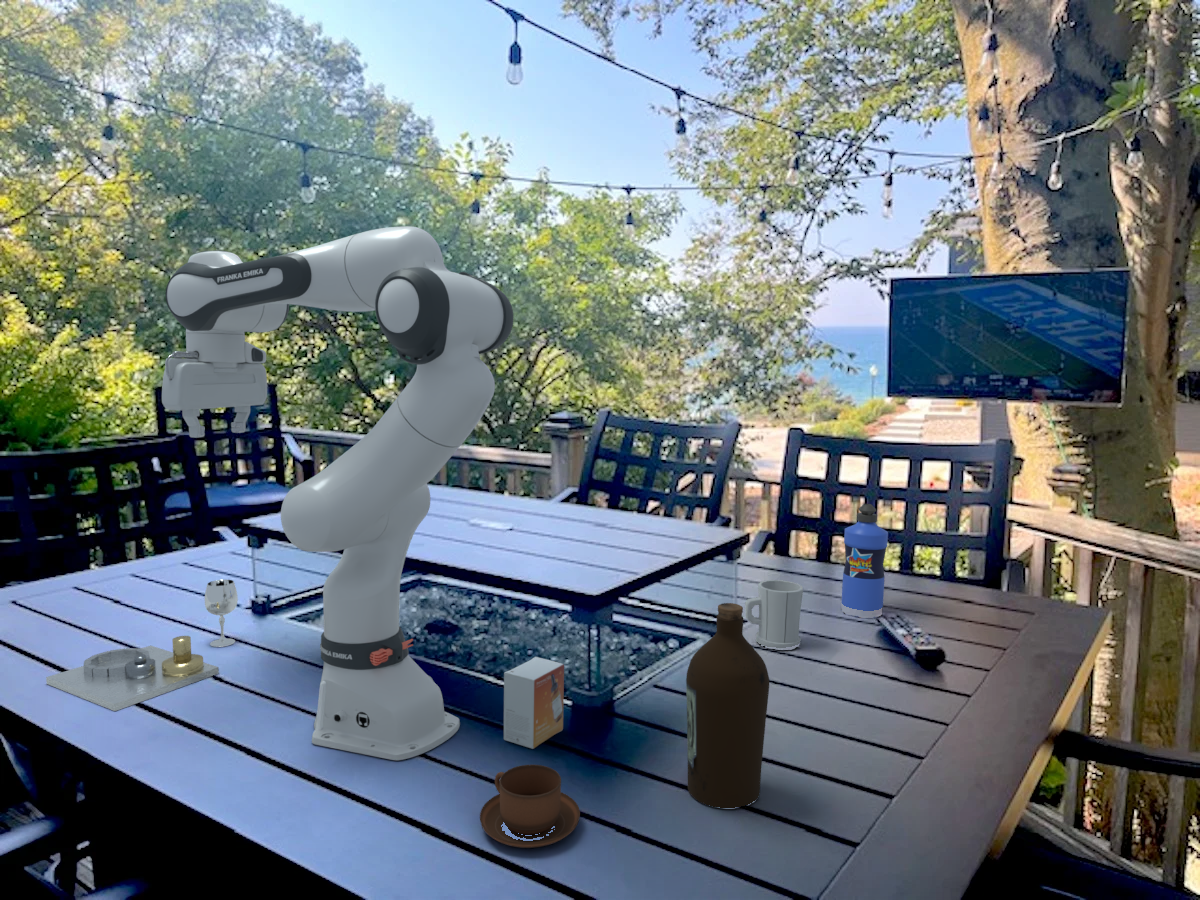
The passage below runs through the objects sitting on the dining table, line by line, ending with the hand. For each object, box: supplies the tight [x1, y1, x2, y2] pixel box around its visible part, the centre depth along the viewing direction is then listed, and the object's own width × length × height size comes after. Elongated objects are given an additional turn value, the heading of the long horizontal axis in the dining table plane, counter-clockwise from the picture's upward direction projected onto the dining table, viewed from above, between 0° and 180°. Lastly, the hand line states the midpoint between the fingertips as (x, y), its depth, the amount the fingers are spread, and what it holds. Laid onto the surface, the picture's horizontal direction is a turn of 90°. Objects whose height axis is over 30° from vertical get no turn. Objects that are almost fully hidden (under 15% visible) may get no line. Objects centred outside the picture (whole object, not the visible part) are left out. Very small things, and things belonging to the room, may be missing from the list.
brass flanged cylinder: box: [162, 635, 204, 677], centre depth 139 cm, size 6×6×6 cm
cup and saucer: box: [479, 764, 581, 849], centre depth 97 cm, size 12×12×6 cm
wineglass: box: [204, 579, 239, 648], centre depth 155 cm, size 6×6×12 cm
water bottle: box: [840, 503, 889, 611], centre depth 182 cm, size 9×9×25 cm
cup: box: [744, 579, 804, 648], centre depth 161 cm, size 10×9×12 cm
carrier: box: [45, 645, 220, 712], centre depth 138 cm, size 20×18×4 cm
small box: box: [503, 656, 565, 750], centre depth 120 cm, size 8×6×10 cm
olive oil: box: [685, 602, 770, 808], centre depth 104 cm, size 11×11×25 cm
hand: (218, 434), depth 135 cm, fingers open, 8 cm apart
